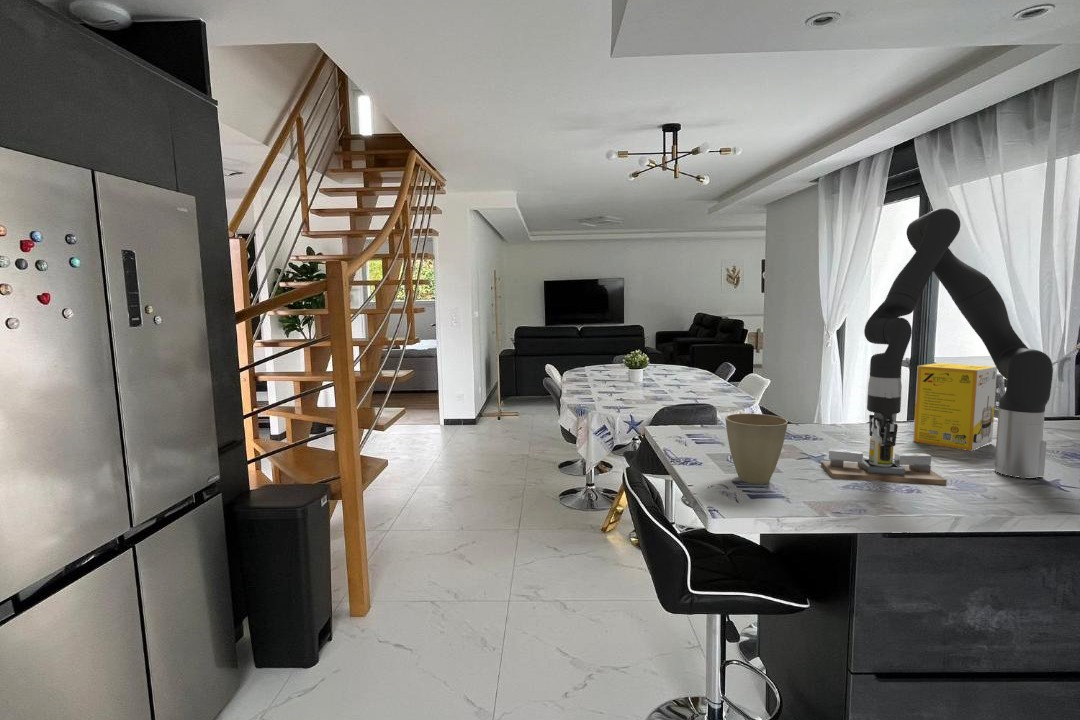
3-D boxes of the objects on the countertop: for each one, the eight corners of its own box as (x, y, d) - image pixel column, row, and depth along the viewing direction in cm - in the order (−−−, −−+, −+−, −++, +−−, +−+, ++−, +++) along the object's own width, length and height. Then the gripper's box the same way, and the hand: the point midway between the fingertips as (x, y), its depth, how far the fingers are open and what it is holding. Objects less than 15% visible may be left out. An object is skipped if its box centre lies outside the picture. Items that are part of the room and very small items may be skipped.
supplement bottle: (864, 463, 151) (866, 428, 151) (875, 460, 154) (876, 425, 153) (886, 468, 147) (888, 431, 146) (896, 465, 150) (898, 429, 149)
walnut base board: (925, 471, 154) (926, 466, 154) (946, 484, 142) (946, 480, 142) (820, 465, 160) (821, 461, 159) (832, 478, 148) (832, 473, 148)
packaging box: (934, 435, 197) (939, 362, 194) (991, 444, 183) (997, 366, 181) (913, 441, 188) (917, 365, 185) (971, 451, 174) (977, 370, 172)
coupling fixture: (925, 468, 152) (926, 452, 152) (939, 477, 144) (941, 461, 143) (825, 463, 158) (826, 448, 157) (834, 471, 149) (834, 456, 149)
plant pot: (711, 475, 151) (713, 415, 150) (756, 469, 156) (758, 411, 155) (750, 492, 137) (753, 426, 136) (799, 485, 142) (801, 422, 141)
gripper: (859, 389, 157) (856, 450, 158) (877, 397, 143) (874, 464, 144) (890, 390, 155) (887, 451, 157) (911, 398, 141) (907, 465, 143)
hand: (880, 457), depth 150 cm, fingers closed on supplement bottle, 5 cm apart
